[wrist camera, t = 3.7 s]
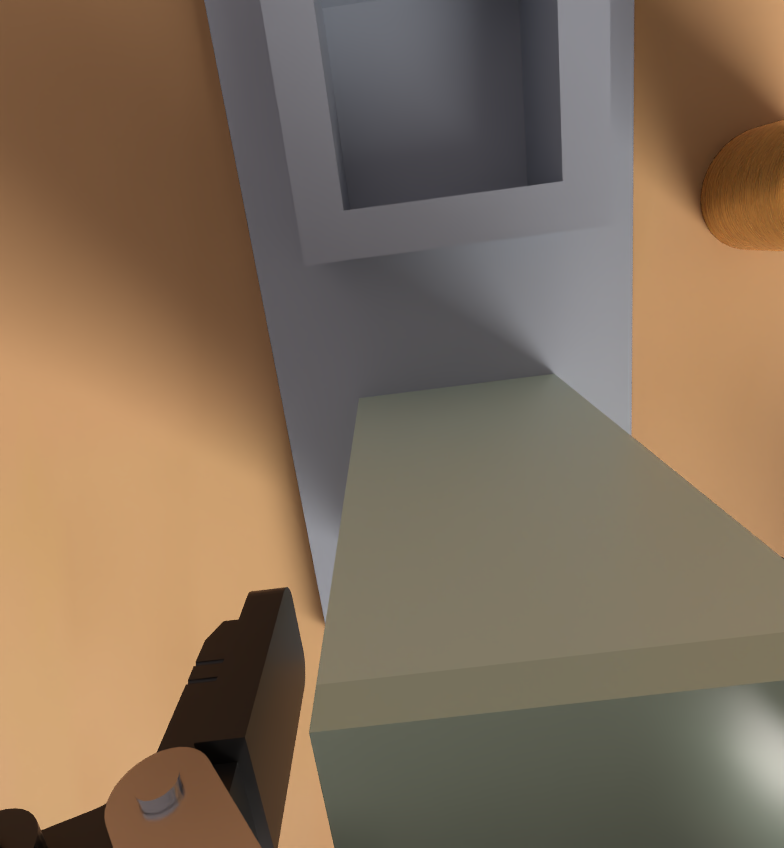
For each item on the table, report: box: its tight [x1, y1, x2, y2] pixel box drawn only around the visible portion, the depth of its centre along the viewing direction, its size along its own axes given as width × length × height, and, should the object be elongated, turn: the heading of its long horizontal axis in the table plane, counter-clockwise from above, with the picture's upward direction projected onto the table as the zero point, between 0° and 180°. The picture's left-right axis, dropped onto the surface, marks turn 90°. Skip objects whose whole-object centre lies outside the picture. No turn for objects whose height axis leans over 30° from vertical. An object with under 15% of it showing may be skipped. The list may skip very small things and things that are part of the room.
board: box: [204, 0, 634, 623], centre depth 12 cm, size 10×22×10 cm, turn 7°
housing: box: [309, 374, 784, 848], centre depth 12 cm, size 6×6×12 cm
